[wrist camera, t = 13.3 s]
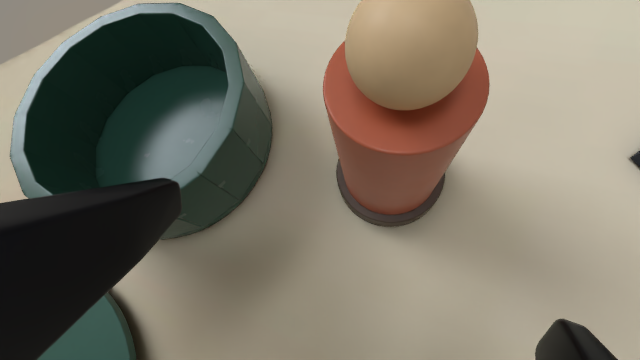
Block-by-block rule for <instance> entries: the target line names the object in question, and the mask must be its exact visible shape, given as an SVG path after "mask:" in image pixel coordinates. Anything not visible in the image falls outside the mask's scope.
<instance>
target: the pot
mask: <svg viewBox="0 0 640 360" xmlns="http://www.w3.org/2000/svg"><path fill="white" fill-rule="evenodd" d="M271 139H272V121H271V114H270V110H269V107H268V104H267V101H266V98H265V94H264V92H263V90H262V88H261V86H260V84H259V83H258V81H257V79H256V77H255V76H254V74H253V72H252V70H251V68H250V67H249V65H248V63H247V61H246V59H245V58H244V56H243V54H242V52H241V50H240V49H239V47H238V45H237V43H236V42H235V41H234V40H233V38H232V37H231V36H230V35H229V34H228V33H227V31H226V30H225V29H224V28H223V27H222V26H221V25H220V23H219V22H218V21H217V20H216V19H215V18H214V16H212V15H209V14H207V13H204V12H201V11H199V10H196V9H194V8H191V7H189V6H186V5H184V4H181V3H145V4H136V5H133V6H130V7H127V8H125V9H122V10H119V11H116V12H113V13H110V14H107V15H104V16H101V17H100V18H98V19H96V20H95V21H94V22H92V23H91V24H89V25H88V26H86V27H85V28H83V29H82V30H80V31H79V32H77V33H76V34H74V35H73V36H71V37H70V38H68V39H67V40H65V41H64V42H63V43H62V44H61V45H60V46H59V47H58V48H57V49H56V51H55V52H54V53H53V54H52V55H51V56H50V57H49V58H48V60H47V61H46V62H45V63H44V64H43V65H42V66H41V68H40V69H39V70H38V71H37V72H36V73H35V74H34V77H33V78H32V80H31V82H30V84H29V86H28V88H27V90H26V92H25V95H24V97H23V99H22V101H21V103H20V105H19V107H18V109H17V111H16V113H15V116H14V121H13V131H12V140H11V150H10V157H11V158H10V159H11V161H12V164H13V167H14V170H15V172H16V175H17V178H18V181H19V183H20V186H21V189H22V191H23V193H24V195H25V196H26V197H28V198H29V199H30V198H36V197H43V196H49V195H55V194H62V193H68V192H74V191H81V190H87V189H93V188H100V187H106V186H112V185H118V184H125V183H131V182H137V181H144V180H150V179H156V178H168V179H171V180H174V181H176V182H178V183H179V185H180V189H181V201H182V211H181V214H180V215H179V217H178V218H177V219H176V220H175V222H174V223H173V224H172V225H171V226H170V227H169V229H168V230H167V231H166V232H165V233H164V234H163V235H162V237H161V238H160V239H166V238H177V237H181V236H186V235H190V234H192V233H195V232H198V231H201V230H203V229H205V228H207V227H209V226H211V225H213V224H215V223H216V222H218V221H219V220H221V219H222V218H224V217H225V216H227V215H228V214H229V213H230V212H231V211H232V210H234V209H235V208H236V207H237V206H238V205H239V204H240V203H241V202H242V201H243V200H244V199H245V197H246V196H247V195H248V194H249V192H250V191H251V190H252V188H253V187H254V186H255V184H256V182H257V181H258V179H259V177H260V175H261V173H262V171H263V169H264V166H265V164H266V162H267V158H268V155H269V151H270V147H271Z"/></svg>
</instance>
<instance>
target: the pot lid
mask: <svg viewBox="0 0 640 360" xmlns="http://www.w3.org/2000/svg"><path fill="white" fill-rule="evenodd" d="M37 360H136V352H135V348H134V343H133V338H132V335H131V332H130V329H129V327H128V324H127V321H126V319H125V317H124V315H123V313H122V311H121V310H120V308H119V306H118V305H117V303H116V302H115V301H114V299H113V298H112V297H111V295H110V294H109V293H108V292H107V293H106V294H105V295H104V296H103V297H102V298H101V299H100V300H99V301H98V302H97V303H96V304H95V305H94V306H93V307H92V308H91V309H90V310H88V311H87V312H86V313H85V314H84V315H83V316H82V317H81V318H80V319H79V320H78V321H77V322H76V323H75V324H74V325H73V326H72V327H71V328H70V329H69V330H68V331H67V332H66V333H64V334H63V335H62V336H61V337H60V338H59V339H58V340H57V341H56V342H55V343H54V344H53V345H52V346H51V347H50V348H49V349H48V350H47V351H46V352H45V353H44V354H43V355H42V356H40V357H39V358H38V359H37Z"/></svg>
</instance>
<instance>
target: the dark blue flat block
mask: <svg viewBox="0 0 640 360" xmlns="http://www.w3.org/2000/svg"><path fill="white" fill-rule="evenodd" d="M631 159H632V160H633V161H634V162H635V163H637V164H638V165H639V166H640V151H639V152H637V153H636V154H635V155H634V156H632V157H631Z"/></svg>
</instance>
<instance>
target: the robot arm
mask: <svg viewBox="0 0 640 360" xmlns="http://www.w3.org/2000/svg"><path fill="white" fill-rule="evenodd" d="M181 211H182V201H181V189H180V185H179V183H178V182H176V181H174V180H171V179H168V178H156V179H150V180H144V181H137V182H131V183H125V184H118V185H112V186H106V187H100V188H93V189H87V190H81V191H74V192H68V193H62V194H55V195H49V196H43V197H36V198H30V199H24V200H17V201H11V202H5V203H0V360H37V359H38V358H39V357H40V356H42V355H43V354H44V353H45V352H46V351H47V350H48V349H49V348H50V347H51V346H52V345H53V344H54V343H55V342H56V341H57V340H58V339H59V338H60V337H61V336H62V335H63V334H64V333H66V332H67V331H68V330H69V329H70V328H71V327H72V326H73V325H74V324H75V323H76V322H77V321H78V320H79V319H80V318H81V317H82V316H83V315H84V314H85V313H86V312H87V311H88V310H90V309H91V308H92V307H93V306H94V305H95V304H96V303H97V302H98V301H99V300H100V299H101V298H102V297H103V296H104V295H105V294H106V293H107V292H108V291H109V290H110V289H111V288H112V287H114V286H115V285H116V284H117V283H118V282H119V281H120V280H121V279H122V278H123V277H124V276H125V275H126V274H127V273H128V272H129V271H130V270H131V269H132V268H133V267H134V266H135V265H136V264H137V263H138V262H139V261H140V260H141V259H142V258H143V257H144V256H145V255H146V254H147V253H148V252H149V250H150V249H151V248H152V247H153V246H154V245H155V244H156V242H157V241H158V240H159V239H160V238H161V237H162V235H163V234H164V233H165V232H166V231H167V230H168V229H169V227H170V226H171V225H172V224H173V223H174V222H175V220H176V219H177V218H178V217H179V215H180V214H181ZM535 360H618V359H617V358H616V357H615V356H614V355H613V354H612V353H611V352H610V351H609V350H608V349H607V348H606V347H605V346H604V345H603V344H602V343H601V342H600V341H599V340H598V339H597V338H596V337H595V336H594V335H593V334H592V333H591V332H590V331H589V330H588V329H587V328H586V327H584V326H582V325H580V324H577V323H574V322H571V321H568V320H565V319H558V320H556V321H555V322H554V323H553V324H552V326H551V327H550V328H549V330H548V331H547V332H546V333H545V335H544V336H543V337H542V339H541V340H540V341H539V343H538V345H537V347H536V352H535Z"/></svg>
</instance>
